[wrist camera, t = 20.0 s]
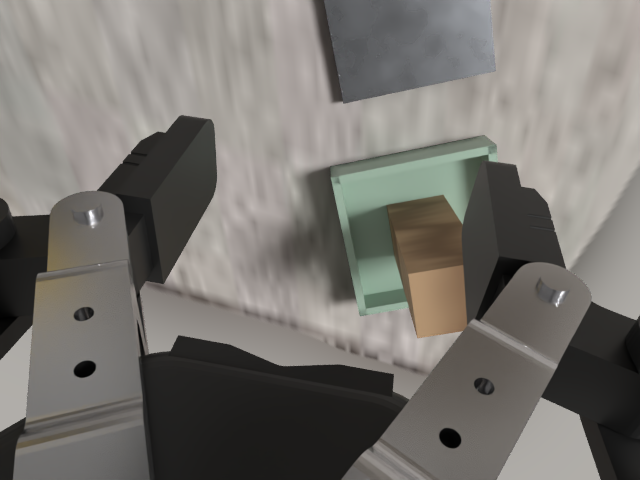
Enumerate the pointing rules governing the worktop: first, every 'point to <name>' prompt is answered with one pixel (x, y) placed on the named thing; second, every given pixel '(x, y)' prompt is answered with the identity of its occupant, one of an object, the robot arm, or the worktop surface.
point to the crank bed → (408, 43)
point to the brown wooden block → (430, 263)
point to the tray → (394, 187)
